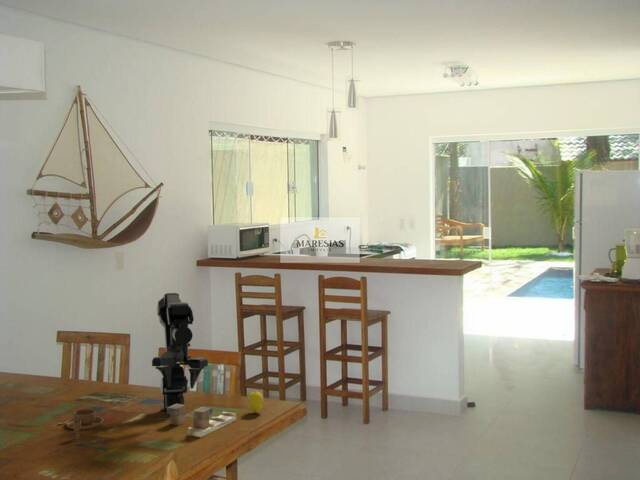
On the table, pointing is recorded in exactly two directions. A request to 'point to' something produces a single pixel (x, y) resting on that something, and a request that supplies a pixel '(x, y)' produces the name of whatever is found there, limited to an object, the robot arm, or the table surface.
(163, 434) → the table surface
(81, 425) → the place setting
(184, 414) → the gray and beige block
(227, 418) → the rail
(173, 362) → the robot arm
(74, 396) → the table surface
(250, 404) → the lemon
